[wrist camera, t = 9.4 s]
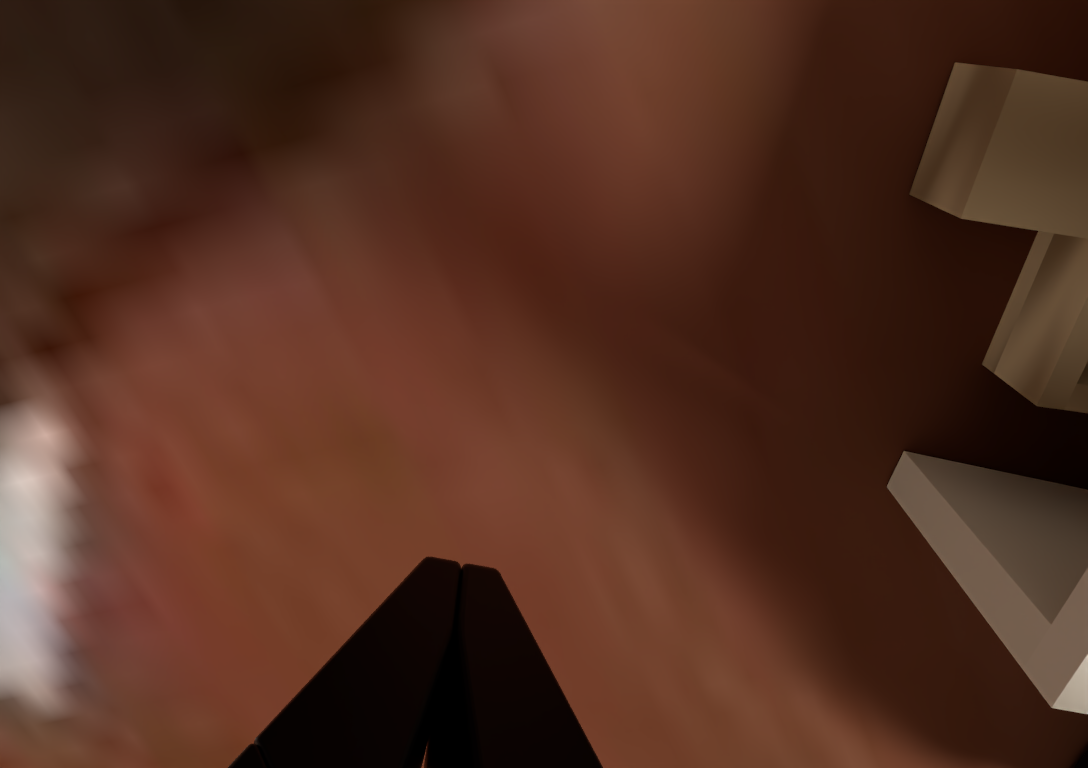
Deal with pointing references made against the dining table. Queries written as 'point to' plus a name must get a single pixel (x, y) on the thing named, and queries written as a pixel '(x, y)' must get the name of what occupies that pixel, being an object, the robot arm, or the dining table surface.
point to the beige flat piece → (1023, 213)
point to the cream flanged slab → (1011, 561)
